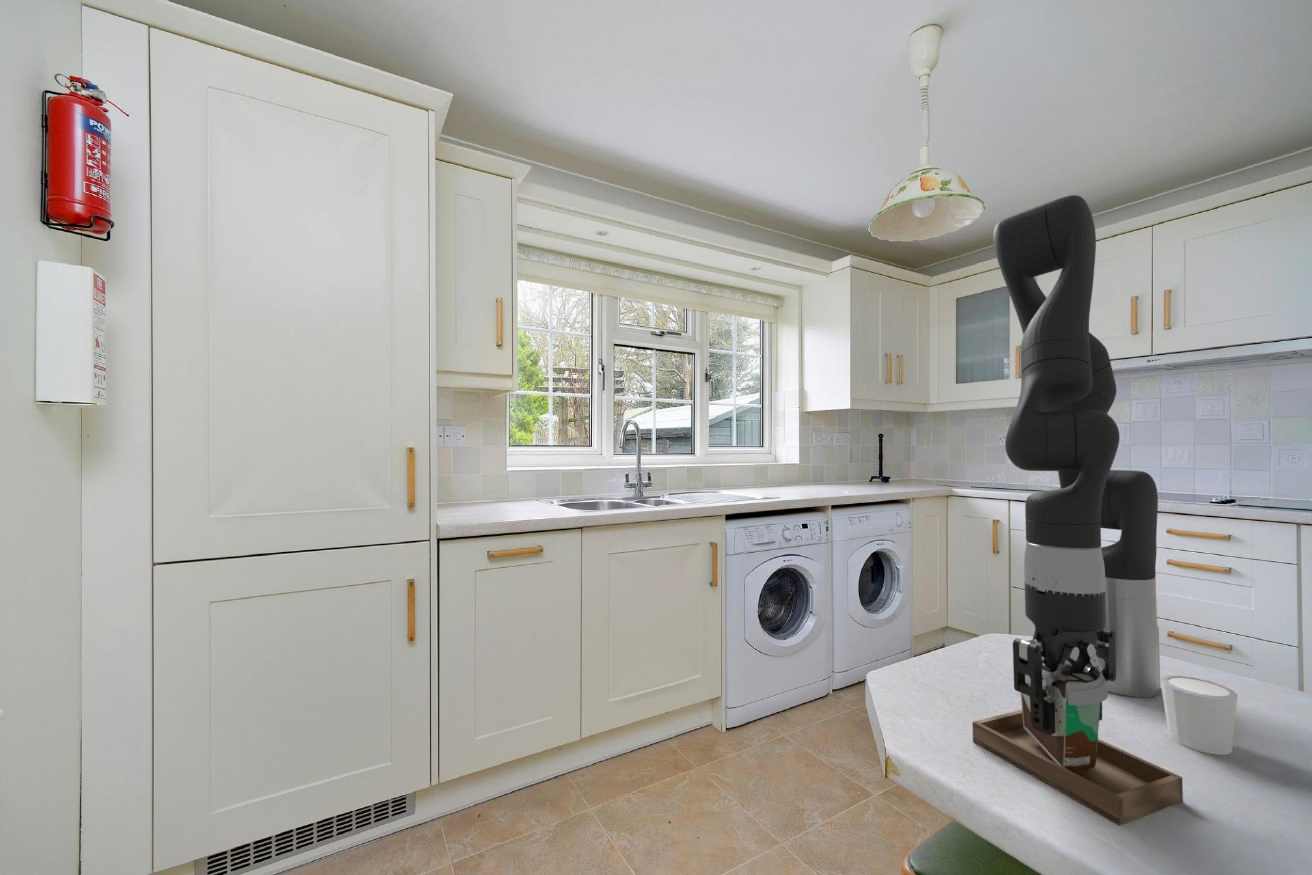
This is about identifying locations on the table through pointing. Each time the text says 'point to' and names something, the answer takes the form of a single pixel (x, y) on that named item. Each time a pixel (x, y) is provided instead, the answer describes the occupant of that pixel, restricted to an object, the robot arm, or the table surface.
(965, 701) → the table surface
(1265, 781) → the table surface
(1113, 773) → the walnut tray
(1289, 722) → the table surface
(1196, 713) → the white cup
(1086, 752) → the food container
